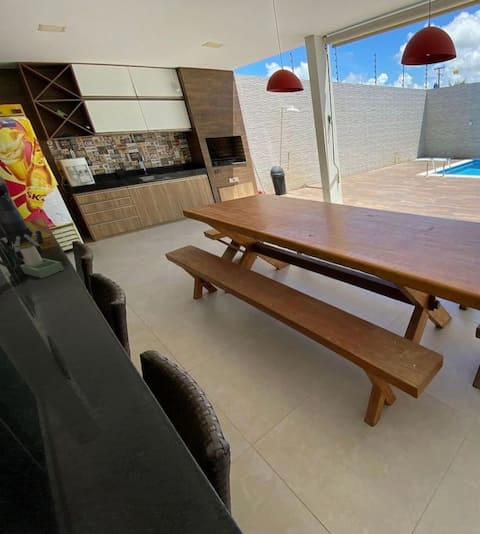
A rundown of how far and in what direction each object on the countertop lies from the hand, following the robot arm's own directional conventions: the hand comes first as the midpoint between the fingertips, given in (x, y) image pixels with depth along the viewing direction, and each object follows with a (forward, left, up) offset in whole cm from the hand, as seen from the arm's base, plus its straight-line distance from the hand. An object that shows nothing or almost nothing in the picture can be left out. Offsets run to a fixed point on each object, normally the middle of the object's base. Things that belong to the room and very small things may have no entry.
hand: (31, 256), depth 138 cm
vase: (+4, +16, -8) cm, 18 cm away
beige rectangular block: (0, 0, -5) cm, 5 cm away
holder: (0, -4, -7) cm, 8 cm away
